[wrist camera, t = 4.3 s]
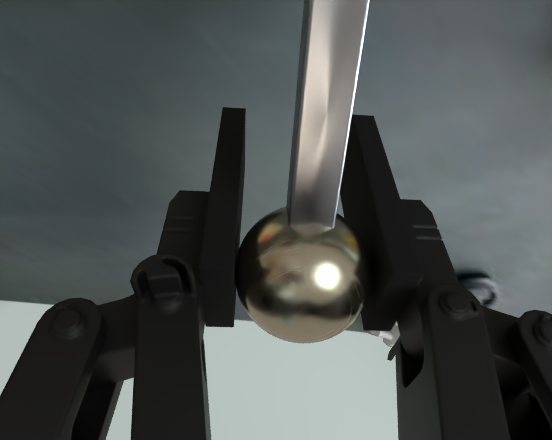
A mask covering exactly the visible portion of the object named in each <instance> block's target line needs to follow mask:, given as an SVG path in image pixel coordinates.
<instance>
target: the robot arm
mask: <svg viewBox="0 0 552 440" xmlns="http://www.w3.org/2000/svg"><path fill="white" fill-rule="evenodd" d="M245 112H246V109H243V108H226V107H223V110H222V116H221V123H220V129H219V136H218V142H217V148H216V155H215V161H214V168H213V174H212V181H211V187H210V192H204V191H182V190H180V191H179V192H178V193H177V194H176V196H175V197H174V198H173V199H172V200H171V201H170V203H169V207H168V211H167V215H166V219H165V223H164V227H163V231H162V235H161V239H160V243H159V247H158V251H157V255H153V256H150V257H148V258H147V259H145V260H143V261H142V262H140V263H139V265H138V266H137V267H136V268H135V269H134V271H133V273H132V277H131V280H130V282H131V285H132V288H133V290H134V293H135V294H133V295H131V296H129V297H126V298H124V299H121V300H117V301H113V302H109V303H105V304H101V305H98V306H97V305H96V304H95V303H93V302H92V301H91V300H87V299H84V298H72V299H67V300H64V301H62V302H59V303H57V304H55V305H54V306H52V307H51V308H50V309H48V310H47V311H46V312H45V313H44V314H43V316H42V317H41V319H40V320H39V321H38V323H37V325H36V327H35V329H34V331H33V333H32V334H31V336H30V339H29V341H28V342H27V344H26V346H25V348H24V350H23V352H22V354H21V356H20V358H19V360H18V362H17V364H16V366H15V368H14V370H13V372H12V374H11V376H10V378H9V380H8V382H7V384H6V386H5V388H4V389H3V392H2V393H1V395H0V440H106V436H107V433H108V430H109V427H110V424H111V420H112V417H113V414H114V410H115V407H116V404H117V401H118V398H119V395H120V391H121V388H122V385H123V381H124V380H127V379H130V378H133V377H134V385H133V405H132V425H131V440H211V430H210V417H209V403H208V390H207V376H206V363H205V350H204V340H203V334H204V325H206V326H208V327H234V315H235V301H236V283H235V264H236V258H237V254H238V250H239V244H240V230H241V216H242V202H243V188H244V174H245ZM340 195H341V201H342V207H343V213H344V218H345V219H346V220H347V221H349V222H350V223H351V224H352V225H353V226H354V227H355V228H356V230H357V231H358V232H359V233H360V235H361V237H362V238H363V240H364V242H365V244H366V245H367V248H368V251H369V254H370V257H371V262H372V270H373V280H372V287H371V292H370V295H369V298H368V301H367V303H366V305H365V307H364V309H363V311H362V312H361V317H362V322H363V328H364V330H367V331H391V330H392V328H393V326H394V325H395V323H396V321H397V325H398V329H399V333H400V336H399V338H398V339H397V341H396V342H395V344H394V345H393V347H392V348H391V350H390V351H389V354H388V360H390V361H391V360H392V359H393V358H394V356H395V355H396V381H397V410H398V438H399V440H552V314H550V313H547V312H545V311H539V310H532V311H528V312H525V313H524V314H523V315H522V316H521V317H520V318H517V317H514V316H511V315H507V314H504V313H501V312H498V311H495V310H492V309H489V308H487V307H484V306H482V305H481V304H480V302H479V301H478V299H477V298H476V297H475V296H474V295H473V294H472V293H471V292H470V291H468V290H467V289H465V288H464V287H462V286H461V285H460V283H459V281H458V279H457V276H456V274H455V271H454V269H453V266H452V263H451V261H450V258H449V256H448V253H447V250H446V248H445V245H444V243H443V241H442V240H441V239H442V237H441V235H440V232H439V230H438V229H437V224H436V222H435V219H434V217H433V214H432V212H431V211H430V210H429V209H428V208H427V207H426V206H425V205H424V203H423V202H422V201H421V200H406V199H400V197H399V194H398V191H397V187H396V184H395V181H394V178H393V175H392V172H391V169H390V166H389V163H388V159H387V156H386V153H385V150H384V147H383V144H382V141H381V138H380V134H379V131H378V128H377V125H376V122H375V119H374V116H366V115H352V119H351V125H350V131H349V138H348V144H347V150H346V157H345V163H344V169H343V176H342V182H341V188H340Z"/></svg>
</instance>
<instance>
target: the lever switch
mask: <svg viewBox="0 0 552 440" xmlns="http://www.w3.org/2000/svg"><path fill="white" fill-rule="evenodd" d="M369 4H370V0H304V9H303V21H302V32H301V44H300V55H299V67H298V78H297V90H296V102H295V113H294V125H293V136H292V148H291V159H290V171H289V182H288V194H287V205H286V207H283V208H280V209H278V210H275V211H273V212H271V213H269V214H267V215H266V216H264V217H263V218H262V219H260V220H259V221H258V222H257V223H256V224H255V225H254V226H253V227H252V228H251V229H250V231H249V232H248V233H247V235H246V236H245V238H244V239H243V241H242V244H241V246H240V248H239V250H238V254H237V258H236V264H235V283H236V288H237V292H238V296H239V298H240V301H241V303H242V305H243V307H244V309H245V310H246V312H247V313H248V315H249V316H250V317H251V318H252V320H253V321H254V322H255V323H256V324H257V325H258V326H259V327H261V328H262V329H263V330H265V331H266V332H267V333H269V334H271V335H273V336H275V337H277V338H280V339H282V340H285V341H289V342H295V343H314V342H319V341H324V340H326V339H329V338H332V337H334V336H336V335H338V334H339V333H341V332H342V331H344V330H345V329H347V328H348V327H349V326H350V325H351V324H352V323H353V322H354V321H355V320H356V319H357V318H358V316H359V315H360V314H361V312H362V311H363V309H364V307H365V305H366V303H367V301H368V298H369V295H370V292H371V287H372V280H373V270H372V262H371V257H370V254H369V251H368V248H367V245H366V244H365V242H364V240H363V238H362V237H361V235H360V233H359V232H358V231H357V230H356V228H355V227H354V226H353V225H352V224H351V223H350V222H349V221H347V220H346V219H345V218H343V217H342V216H341V215H339V214H337V207H338V201H339V195H340V188H341V182H342V176H343V169H344V163H345V157H346V150H347V144H348V138H349V131H350V125H351V119H352V112H353V106H354V100H355V93H356V87H357V81H358V74H359V68H360V61H361V55H362V49H363V42H364V36H365V30H366V23H367V17H368V11H369Z"/></svg>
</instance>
